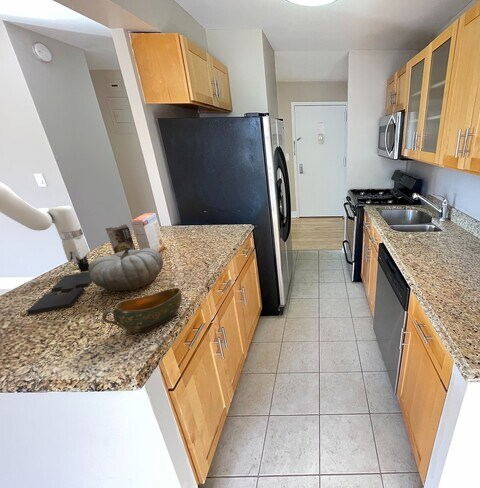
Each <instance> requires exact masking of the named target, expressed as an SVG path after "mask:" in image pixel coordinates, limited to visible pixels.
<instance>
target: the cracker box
mask: <svg viewBox="0 0 480 488" xmlns="http://www.w3.org/2000/svg"><path fill="white" fill-rule="evenodd" d="M130 223H131V227H132V230H133V233H134V237H135V240H136V243H137V245H138V250H141V249H144V248H151V249H155V250H156V251H158V252H159V253H160V252H161V251H162V250H163V249H165V247H166V246H165V242H164V239H163V235H162V231H161V228H160V225H159V221H158V217H157V214H156V212H146V213H143V214H141V215H140V216H137V217H135V218H134V219H131V220H130Z"/></svg>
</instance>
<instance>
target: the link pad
mask: <svg viewBox="0 0 480 488" xmlns="http://www.w3.org/2000/svg"><path fill="white" fill-rule="evenodd" d="M92 283H93V282H92V281H91V279H90V276H89V271H85V272H80V273H72V274H66V275H64V276H63V277H62V278H61V279H60V280H59V281H58V282H57V283H56V284H55V285H54V286H52V287H51V288H50V289H51V291H52V293H53V292H61V294H64V293H70V292H71V291H72V290H73V289H78V288H84V287H85V288H86V287H89V286H91V284H92Z"/></svg>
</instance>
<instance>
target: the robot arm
mask: <svg viewBox="0 0 480 488" xmlns="http://www.w3.org/2000/svg"><path fill="white" fill-rule="evenodd" d="M0 213H1V214H3V215H5V216H6V217H8V218H9V219H11V220H13V221H15V222H17V223H18V224H20V225H22V226H24V227H25V228H28V229H30V230H33V231H37V232H38V231H39V232H40V231H45V230H48V229H49V228H51V227H52V225H53V224H54V226H55V228H56V231H57V233H58V236H59V238H60V240H61V244H62V248H63V251H64V255H65V257H66V260H67V261H68V262H71V261H73V264H74V265H77V266H78V268H79V271H80V273H86V272H89V270H88V268H89V265H90V263H89V260H88V254H89V252H90V249H89V246H88V243H87V242H86V239H85V237H84V232H83V230H82V227H81V225H80V222H79V220H78V217H77V214H76V211H75V209H74V208H73V207H72V206H71V205H59V206H57V205H56V206H54V207H37V208H36V207H35V206H34V205H32V204H30V203H28V202H27V201H26V200H24V199H23V198H21V197H20V196H18V195H17V194H16V193H15V192H14V191H13V189H11V187H9V186H7V185H6V184H5V183H4V182H2V181H0Z"/></svg>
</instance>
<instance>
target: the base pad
mask: <svg viewBox="0 0 480 488" xmlns="http://www.w3.org/2000/svg"><path fill="white" fill-rule="evenodd" d="M84 292H85V288H84V287H79V288H76V289H73V290H72V291H69V292H63V293H58V291H54V292H53V291H52V292H48V293H45V294H44V295H42V296H41V297H40V298H39V299H38V300H37V301H36V302H35V303H34V304H32V306H30V307H29V308H28V310H26V312H27V314H28V315H32V314H39V313H45V312H49V311H54V310H61V309H66V308H72V306H73V305H74V304H75V303H76V301H78V299H80V297H81V296H82V295H83V294H84Z"/></svg>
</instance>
